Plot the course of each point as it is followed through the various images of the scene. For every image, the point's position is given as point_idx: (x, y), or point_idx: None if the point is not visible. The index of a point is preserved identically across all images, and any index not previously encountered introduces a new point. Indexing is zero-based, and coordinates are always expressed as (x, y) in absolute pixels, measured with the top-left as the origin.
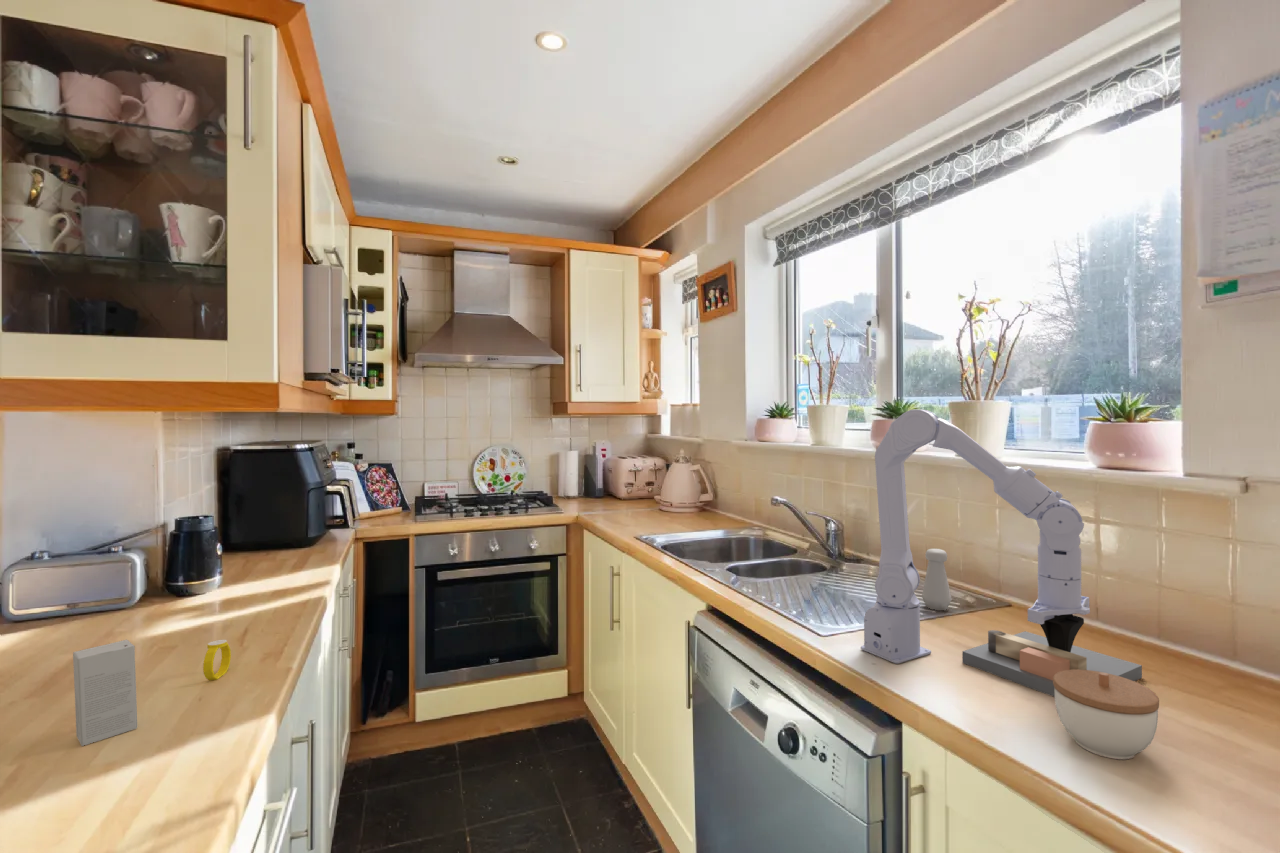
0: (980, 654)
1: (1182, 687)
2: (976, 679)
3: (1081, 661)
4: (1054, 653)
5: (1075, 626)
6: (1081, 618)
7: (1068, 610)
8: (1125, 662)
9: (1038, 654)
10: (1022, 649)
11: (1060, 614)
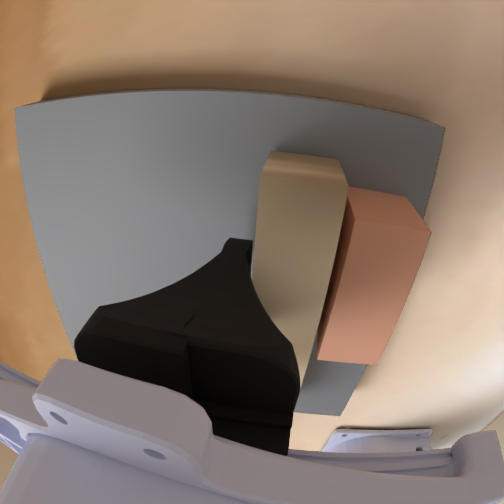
0: (330, 395)
1: (26, 28)
2: (420, 348)
3: (315, 178)
4: (326, 286)
5: (219, 331)
6: (93, 344)
7: (304, 497)
8: (28, 141)
9: (376, 319)
10: (361, 363)
11: (382, 476)
